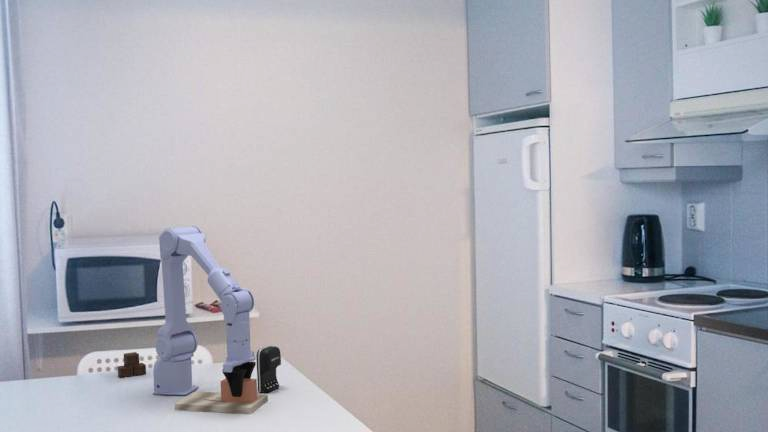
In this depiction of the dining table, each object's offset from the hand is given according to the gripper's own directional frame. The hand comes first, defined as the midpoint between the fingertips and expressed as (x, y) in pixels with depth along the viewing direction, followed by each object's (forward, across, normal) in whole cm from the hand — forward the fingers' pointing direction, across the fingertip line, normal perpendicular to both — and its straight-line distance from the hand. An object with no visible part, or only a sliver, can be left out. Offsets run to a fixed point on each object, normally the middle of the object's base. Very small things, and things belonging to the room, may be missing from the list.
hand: (240, 394), depth 196 cm
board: (+3, 0, +5) cm, 6 cm away
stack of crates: (+4, +25, +45) cm, 51 cm away
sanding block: (+2, 0, 0) cm, 2 cm away
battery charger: (+3, +15, -2) cm, 15 cm away
